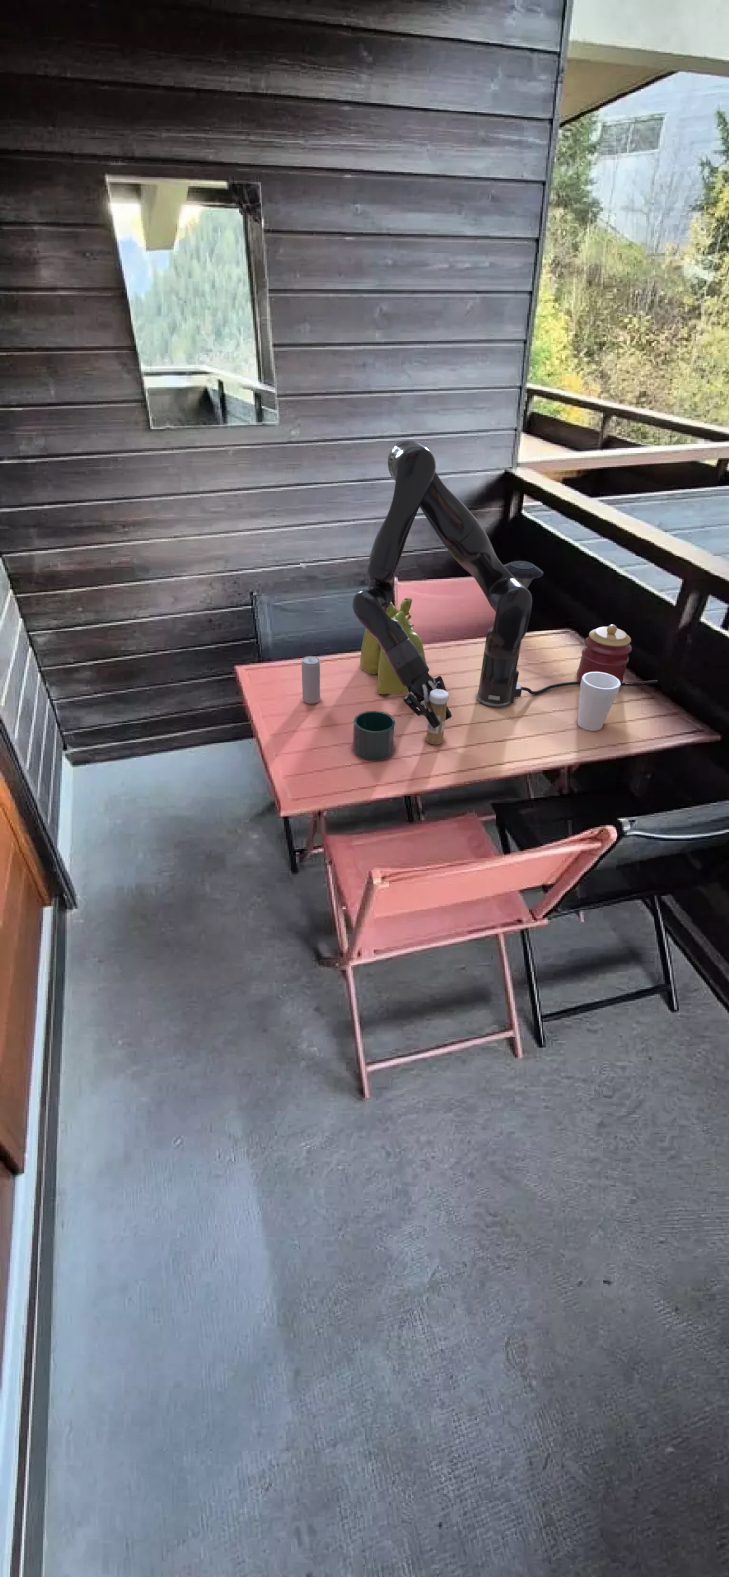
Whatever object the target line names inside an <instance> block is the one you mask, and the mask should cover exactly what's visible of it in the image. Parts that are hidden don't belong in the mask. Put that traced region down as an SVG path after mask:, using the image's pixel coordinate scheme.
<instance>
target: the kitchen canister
mask: <svg viewBox="0 0 729 1577" xmlns="http://www.w3.org/2000/svg"><path fill="white" fill-rule="evenodd" d="M631 642H632V638H631V636H630V635H628V634H627V633H626V632H625V631H624V630H622V629H620V628H618V627H617V625H615V624H609V625H608V626H600V627H597V628H595V629H592V630H591V631H589V634H588V636H587V637H585V639H584V641H583V643H584V648H583V649H582V650H581V656H580V660H579V665H578V668H577V670H576V681H580V682H581V680H582V677H583V675H584V674H586V673H589V672H603V673H607V674H610V675H613V676H615V677H616V678H617V679H619V681H620V683H621V684H622V682H624V675H625V672H626V668H627V665H628V663H629V661H630V657H629V654H630V653H631V652H632V650H633V647H632V645H631V644H630V643H631Z"/></svg>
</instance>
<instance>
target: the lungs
mask: <svg viewBox="0 0 729 1577" xmlns="http://www.w3.org/2000/svg"><path fill="white" fill-rule="evenodd" d="M412 603H413V599H412V598H411V597H410V598H409V597H405V598H404V599H403V600H402V601H401V602H400V605H399V609H397V607H396V606H395V605H394V604H393V602H391V605H390V607H389V609H388V611H387V612H386V613H387V614H388V616H389V617H390V618H391V619H393V620H397V621H399V622H400V624H401V625H402V626H403V628H404V630H405V631H406V633H407V635H408V636H409V638H410V640H411V641H412V642H413V643H414V645H415V646H416V648H417V649H418V651H419V653H420V654H421V656H422V658H423V659H424V661H425V663H426V664H427V659H426V653H425V650H424V645H423V642H422V639H421V637H420V636H419V635H418V634H417V633H416V632H415V630H414V628H413V627H414V626H415V624H412V623H411V621H410V620H411V619H412V614H411V613H410V610H411V608H412ZM361 644H362V645H361V647H360V657H359V668H360V669H361V670H362V671H365V673H368V674H372V675H374V674H375V675H376V674H377V682H376V683H377V684H376V686H377V694H379V695H391V694H403V693H409V692H408V689H407V687H406V686H403V685H402V683H401V682H400V680H399V678H398V677H397V675H396V673H395V672H394V670H393V668H392V667H391V665H390V663H389V661H388V659H387V657H386V655H385V653H384V651H383V650H382V648H381V646H380V645H379V643H378V641H377V639H376V638H375V637H374V636H373V635H372V634H371V633H370V632H369V631H368V630H367V629H366V628H365V630H364V634H363V638H362V643H361ZM427 665H428V664H427Z"/></svg>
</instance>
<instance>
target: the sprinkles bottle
mask: <svg viewBox="0 0 729 1577" xmlns="http://www.w3.org/2000/svg"><path fill="white" fill-rule="evenodd" d="M446 691H447V690H446ZM446 691H444V690H441V689H436V690H432V691H431V692H430V696H429V698H430V705H431V708H432V712H434V713H435V715H436V717H437V718H438V720H439V722H440V725H439V726H438V727H436V728H433V727H432V726H431V725H430V723H429V722H428V720H427V721H426V722H427V723H426V736H425V741H426V742H427V743H429V744H430V745H441V744H442V743H443V742H444V739H445V738H444V734H445V728H446V720H445V719H446V708H447V707H448V702H449V695H450V694H449V692H448V691H447V692H446Z"/></svg>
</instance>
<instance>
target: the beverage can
mask: <svg viewBox="0 0 729 1577" xmlns="http://www.w3.org/2000/svg"><path fill="white" fill-rule="evenodd" d="M301 684H302V685H301V688H302V692H301V693H302V701H303V702H304V703H305V704H309V705H314V704H317V703H318V702H320V701H321V661H320V658H319V657H317V656H314V655H308V656H304V657H302V658H301Z"/></svg>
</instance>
